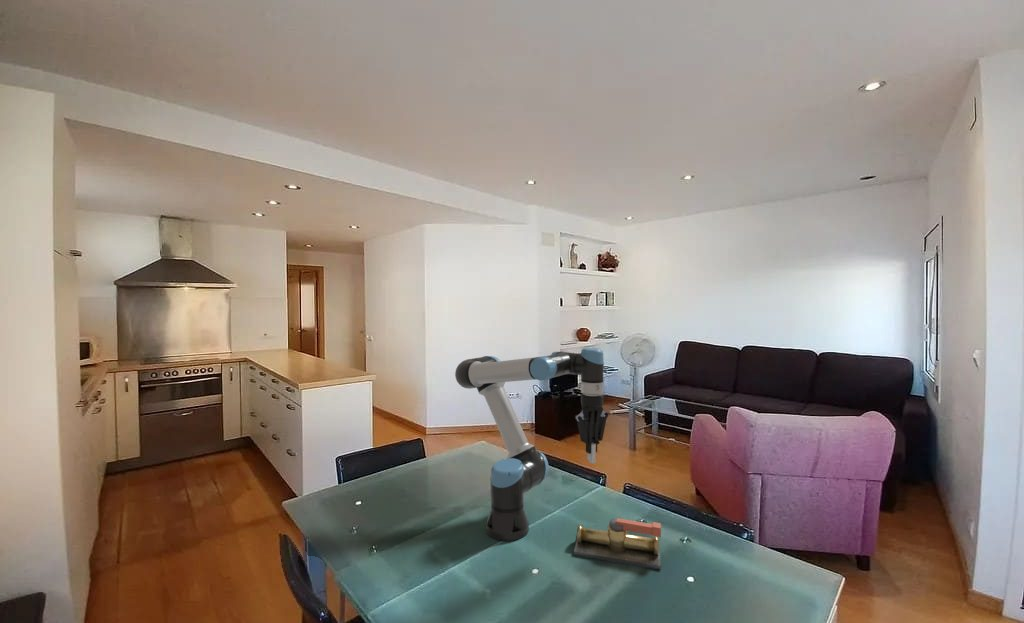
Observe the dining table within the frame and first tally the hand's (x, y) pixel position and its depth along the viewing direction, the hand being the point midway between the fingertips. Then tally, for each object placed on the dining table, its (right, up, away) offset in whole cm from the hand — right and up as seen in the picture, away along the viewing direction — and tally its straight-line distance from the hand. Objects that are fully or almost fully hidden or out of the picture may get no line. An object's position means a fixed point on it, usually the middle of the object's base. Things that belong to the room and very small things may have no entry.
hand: (591, 461), depth 141 cm
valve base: (+7, -26, -8) cm, 28 cm away
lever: (+12, -18, -10) cm, 24 cm away
